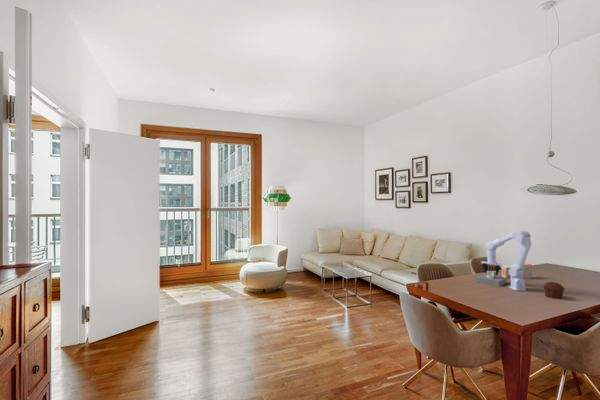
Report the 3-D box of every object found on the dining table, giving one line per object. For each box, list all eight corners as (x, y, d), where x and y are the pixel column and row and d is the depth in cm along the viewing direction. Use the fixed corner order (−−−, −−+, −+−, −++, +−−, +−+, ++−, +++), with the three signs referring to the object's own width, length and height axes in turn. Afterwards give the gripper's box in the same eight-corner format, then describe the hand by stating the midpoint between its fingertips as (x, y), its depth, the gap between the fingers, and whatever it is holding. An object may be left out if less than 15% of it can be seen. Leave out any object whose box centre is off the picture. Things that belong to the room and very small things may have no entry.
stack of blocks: (506, 278, 258) (505, 264, 258) (501, 276, 265) (501, 262, 265) (531, 278, 257) (531, 264, 257) (526, 276, 264) (526, 262, 264)
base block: (506, 282, 244) (506, 277, 244) (499, 286, 234) (498, 281, 234) (484, 278, 257) (484, 274, 257) (476, 282, 247) (476, 277, 247)
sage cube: (496, 277, 245) (496, 271, 245) (493, 278, 242) (493, 272, 242) (489, 276, 249) (489, 270, 249) (486, 277, 246) (486, 271, 246)
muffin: (566, 300, 201) (566, 285, 201) (545, 298, 207) (545, 283, 206) (561, 295, 211) (561, 281, 211) (541, 293, 217) (541, 279, 217)
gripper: (503, 257, 242) (503, 274, 242) (483, 255, 254) (483, 271, 254) (500, 259, 238) (500, 276, 238) (480, 256, 249) (480, 272, 249)
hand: (491, 273), depth 246 cm, fingers open, 7 cm apart
